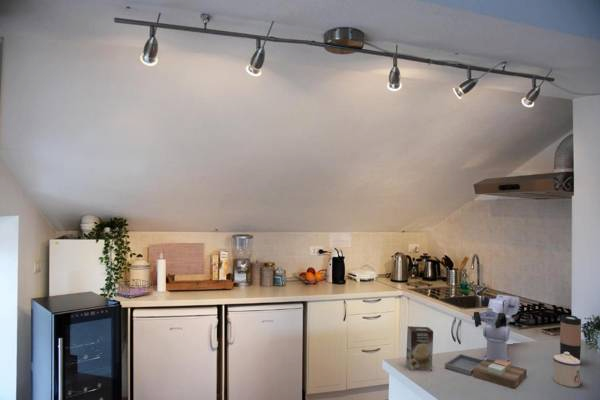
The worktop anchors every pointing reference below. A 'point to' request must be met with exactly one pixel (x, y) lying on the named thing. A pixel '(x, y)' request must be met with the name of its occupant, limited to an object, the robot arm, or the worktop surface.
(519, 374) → the walnut plate
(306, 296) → the worktop surface
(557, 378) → the cream lidded canister
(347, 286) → the worktop surface
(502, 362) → the terracotta tile
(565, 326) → the travel mug
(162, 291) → the worktop surface
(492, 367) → the sage tile
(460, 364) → the box
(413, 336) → the coffee box
